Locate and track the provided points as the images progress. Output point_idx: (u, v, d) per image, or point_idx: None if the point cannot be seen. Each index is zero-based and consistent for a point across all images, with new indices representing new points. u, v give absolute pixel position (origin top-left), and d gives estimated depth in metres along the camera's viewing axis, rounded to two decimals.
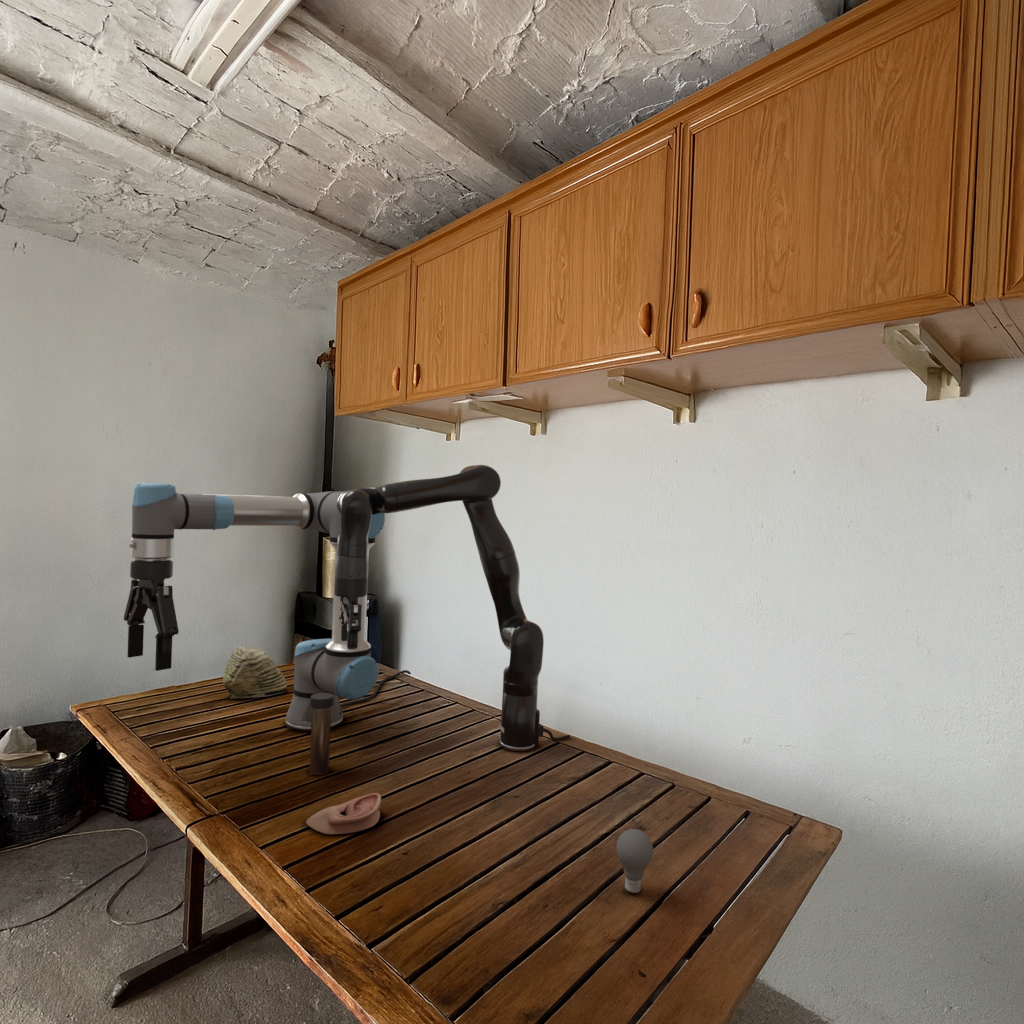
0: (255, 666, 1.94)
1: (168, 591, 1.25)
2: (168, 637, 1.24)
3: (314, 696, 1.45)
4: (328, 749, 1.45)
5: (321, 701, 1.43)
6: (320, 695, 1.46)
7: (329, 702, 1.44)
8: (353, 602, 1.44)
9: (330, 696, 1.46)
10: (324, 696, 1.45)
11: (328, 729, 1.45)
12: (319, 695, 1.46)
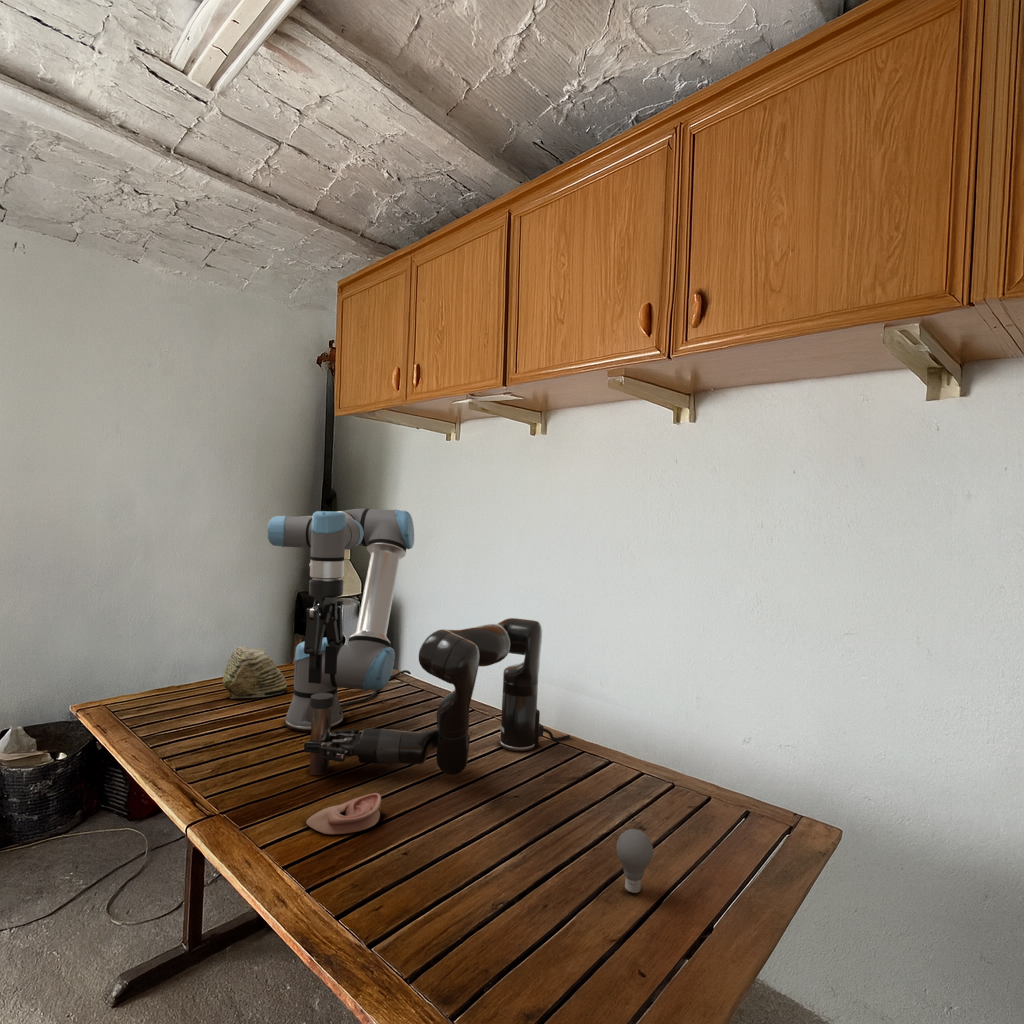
0: (255, 666, 1.94)
1: (313, 614, 1.39)
2: (312, 655, 1.40)
3: (314, 696, 1.45)
4: None
5: (321, 701, 1.43)
6: (320, 695, 1.46)
7: (329, 702, 1.44)
8: None
9: (330, 696, 1.46)
10: (324, 696, 1.45)
11: (328, 729, 1.45)
12: (319, 695, 1.46)
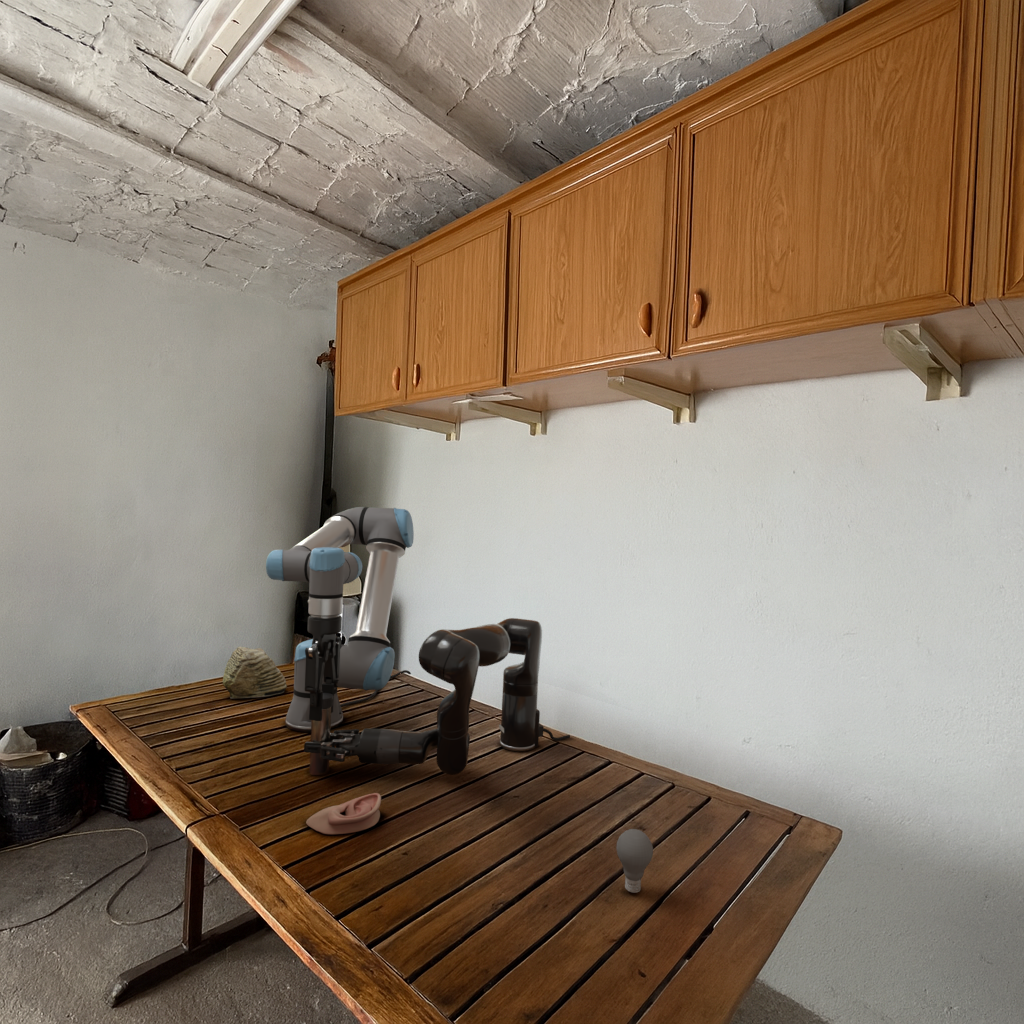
0: (255, 666, 1.94)
1: (312, 654, 1.39)
2: (313, 693, 1.41)
3: None
4: None
5: None
6: None
7: (329, 702, 1.44)
8: None
9: (330, 696, 1.46)
10: (324, 696, 1.45)
11: (328, 729, 1.45)
12: None
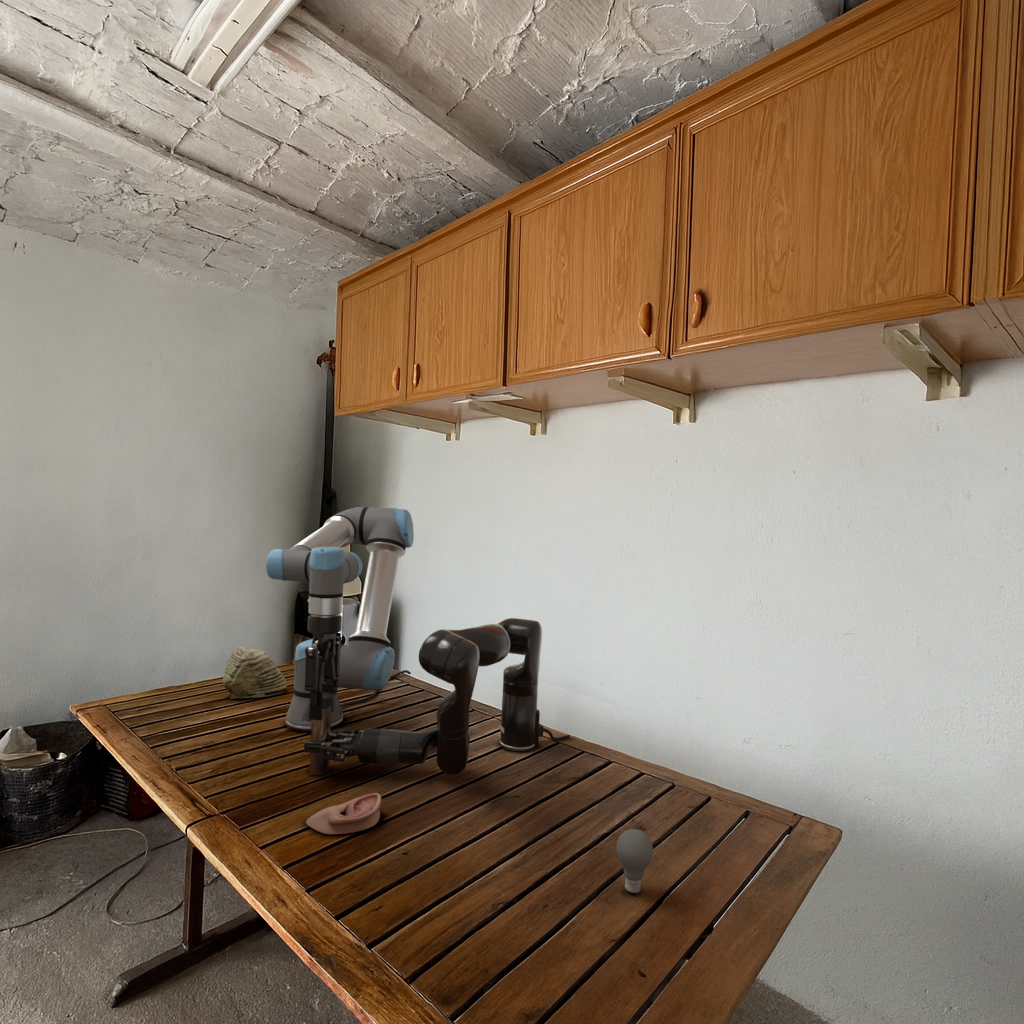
0: (255, 666, 1.94)
1: (312, 653, 1.39)
2: (313, 692, 1.41)
3: None
4: None
5: (332, 697, 1.46)
6: None
7: None
8: None
9: (326, 692, 1.48)
10: (324, 694, 1.46)
11: (328, 729, 1.45)
12: None
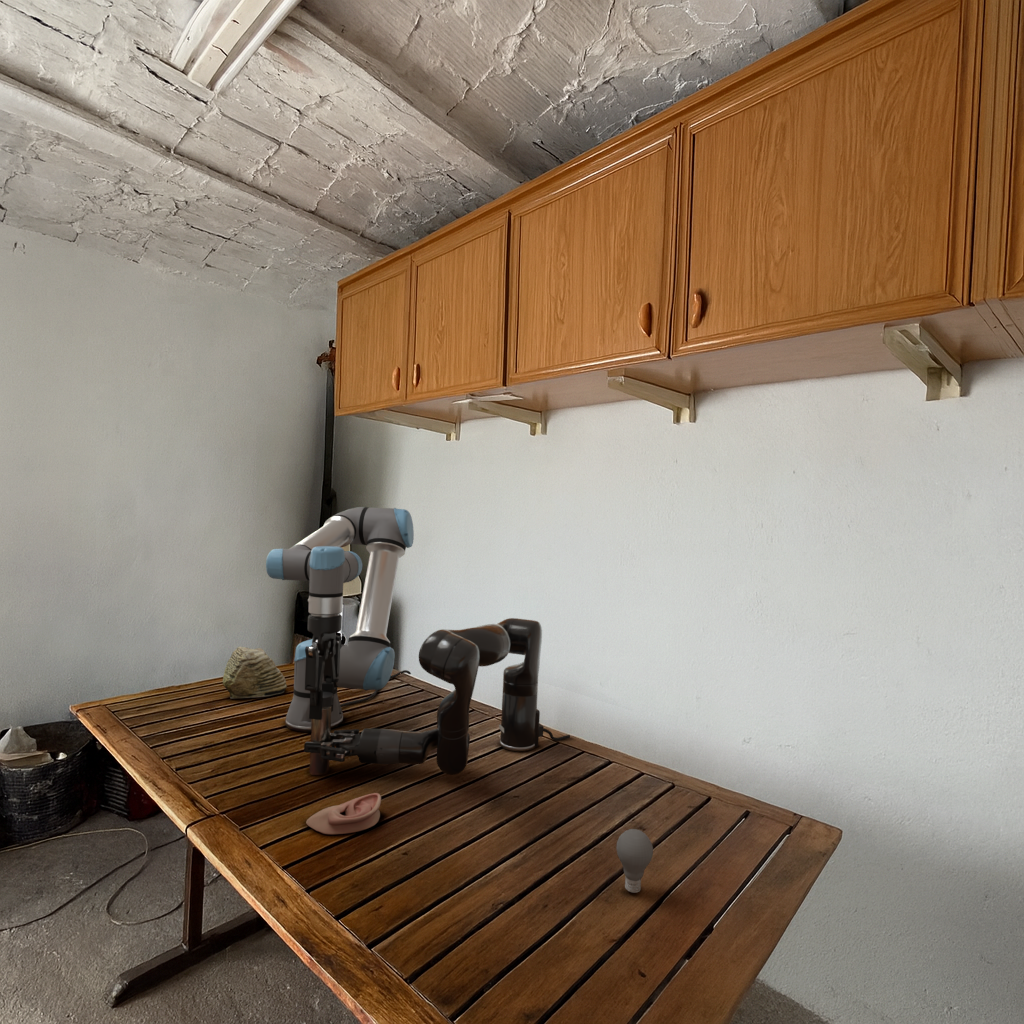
0: (255, 666, 1.94)
1: (312, 653, 1.39)
2: (313, 692, 1.41)
3: (329, 694, 1.46)
4: None
5: None
6: (323, 695, 1.45)
7: None
8: None
9: None
10: None
11: (328, 729, 1.45)
12: (324, 695, 1.45)
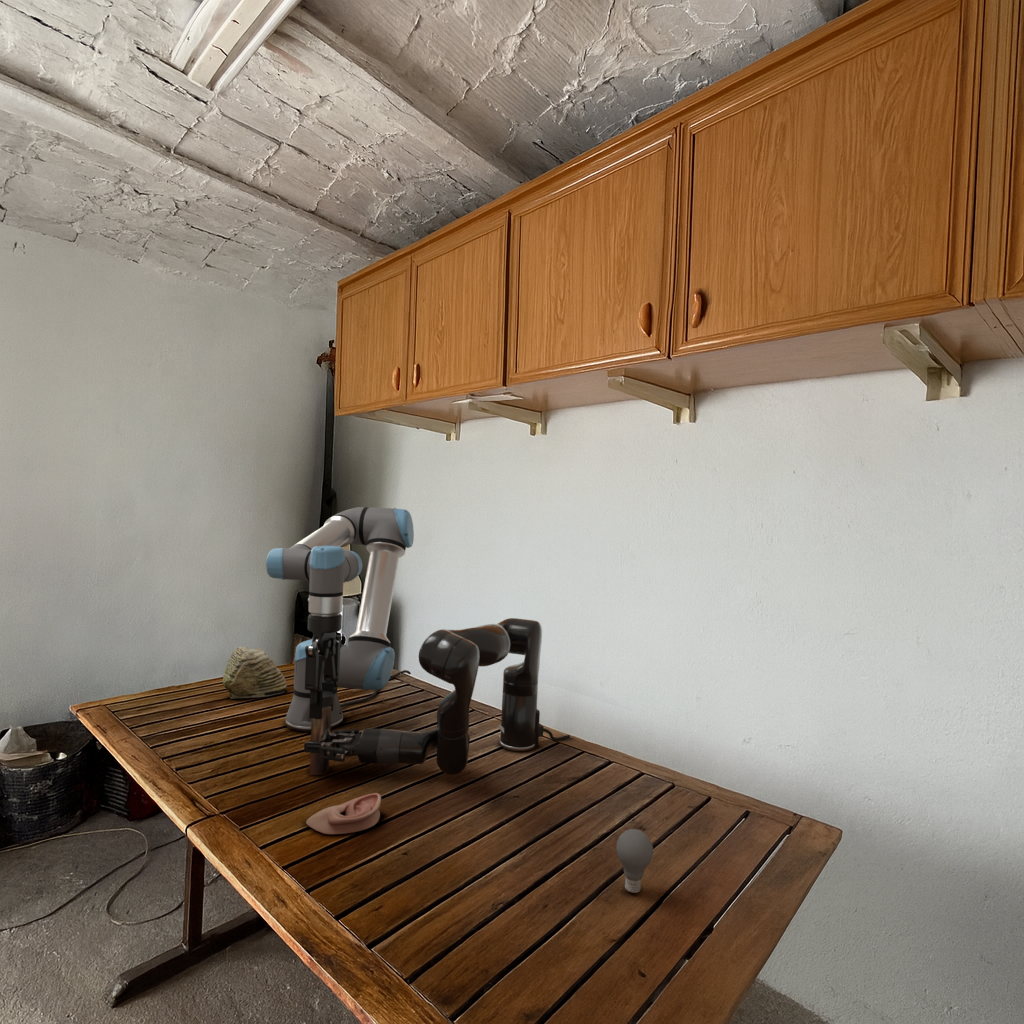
0: (255, 666, 1.94)
1: (312, 652, 1.39)
2: (313, 691, 1.41)
3: (324, 692, 1.47)
4: None
5: None
6: (324, 693, 1.46)
7: None
8: None
9: None
10: None
11: (328, 729, 1.45)
12: (324, 693, 1.46)
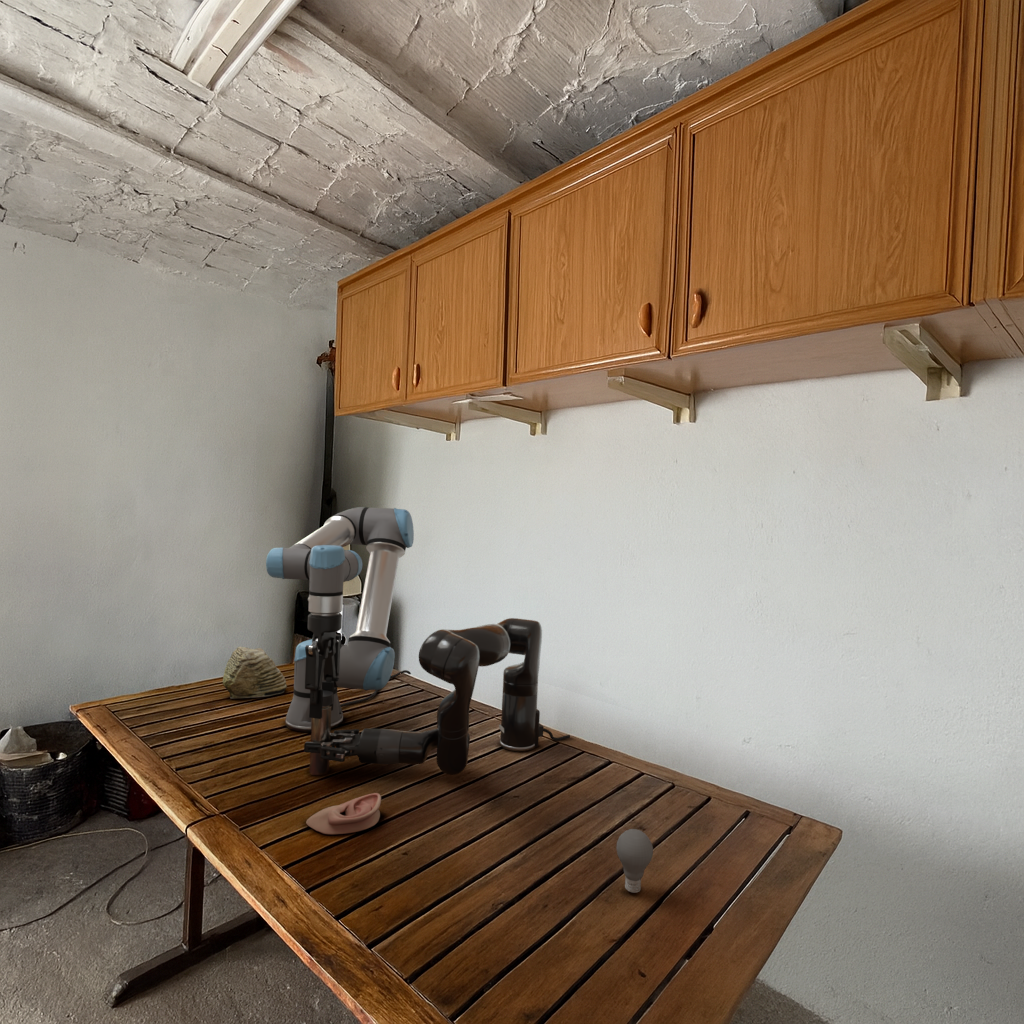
0: (255, 666, 1.94)
1: (312, 652, 1.39)
2: (313, 690, 1.41)
3: None
4: None
5: None
6: None
7: (325, 701, 1.44)
8: None
9: (328, 695, 1.45)
10: (323, 694, 1.45)
11: (328, 729, 1.45)
12: None
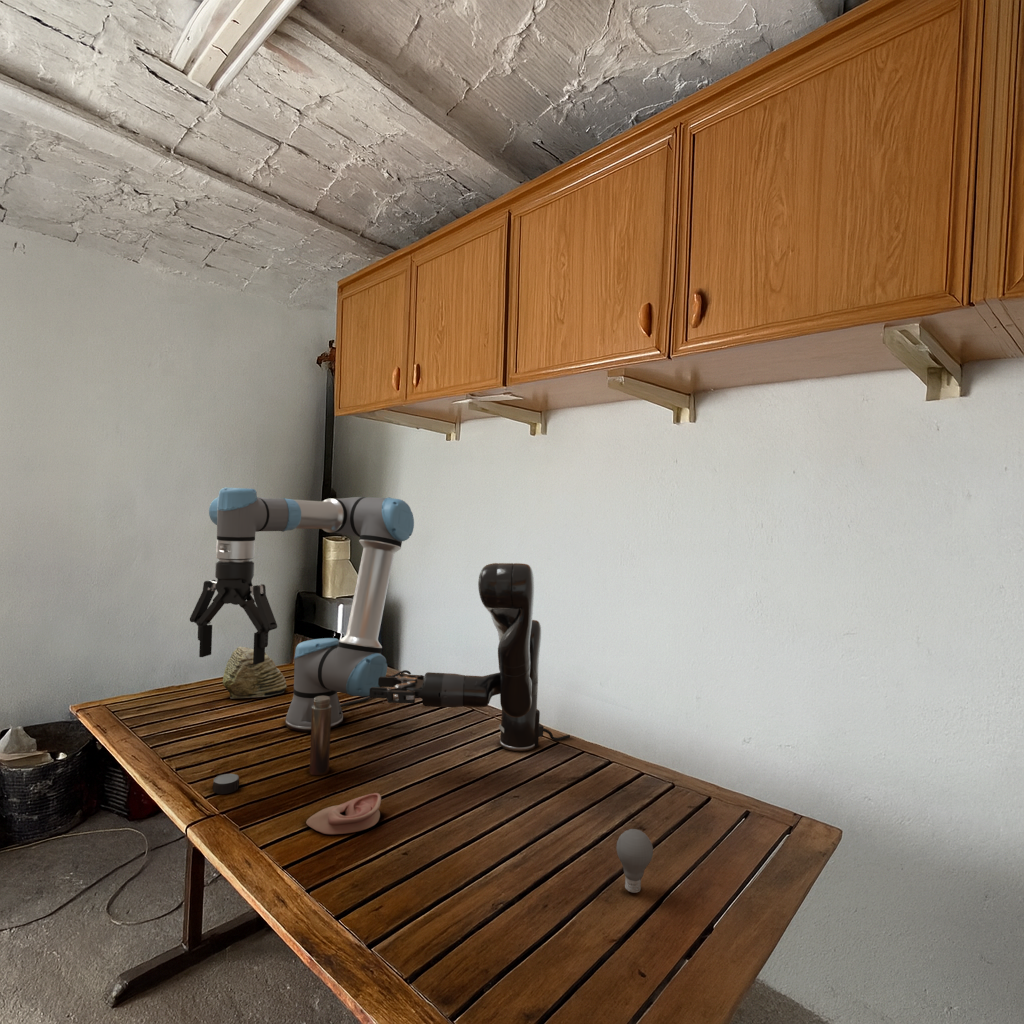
0: (255, 666, 1.94)
1: (263, 589, 1.33)
2: (266, 632, 1.33)
3: (232, 779, 1.35)
4: (328, 749, 1.45)
5: None
6: (226, 779, 1.35)
7: None
8: None
9: (222, 775, 1.37)
10: (226, 777, 1.36)
11: (328, 729, 1.45)
12: (226, 780, 1.35)
